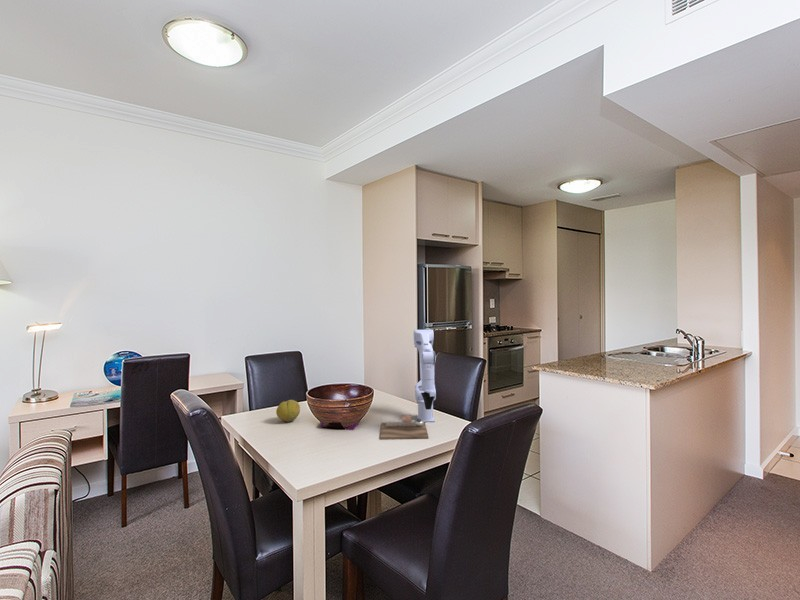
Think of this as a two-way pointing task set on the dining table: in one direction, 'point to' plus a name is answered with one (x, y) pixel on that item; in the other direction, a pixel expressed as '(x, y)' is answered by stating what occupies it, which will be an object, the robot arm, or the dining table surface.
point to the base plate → (404, 432)
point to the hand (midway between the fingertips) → (428, 409)
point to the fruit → (288, 410)
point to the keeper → (408, 418)
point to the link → (403, 423)
